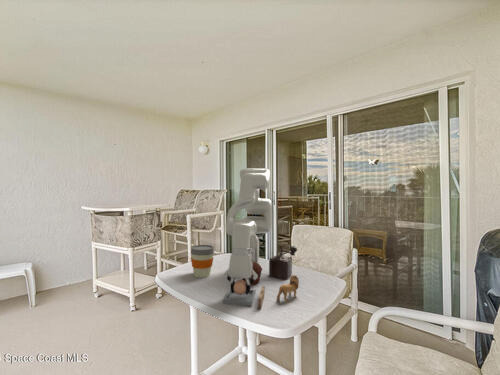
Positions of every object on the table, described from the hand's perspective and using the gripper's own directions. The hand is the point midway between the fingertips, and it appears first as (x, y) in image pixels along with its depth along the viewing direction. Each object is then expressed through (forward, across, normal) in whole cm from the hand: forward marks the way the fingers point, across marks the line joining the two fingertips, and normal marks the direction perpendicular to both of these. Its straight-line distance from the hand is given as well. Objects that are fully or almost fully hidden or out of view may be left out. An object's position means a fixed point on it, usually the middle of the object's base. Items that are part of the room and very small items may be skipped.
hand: (240, 292), depth 105 cm
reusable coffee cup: (+3, +26, -24) cm, 36 cm away
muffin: (+3, -2, -20) cm, 20 cm away
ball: (+1, 0, 0) cm, 1 cm away
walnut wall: (+3, -10, +1) cm, 10 cm away
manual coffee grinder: (+3, -18, -32) cm, 37 cm away
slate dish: (+3, 0, 0) cm, 3 cm away
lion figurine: (+3, -20, -5) cm, 21 cm away
